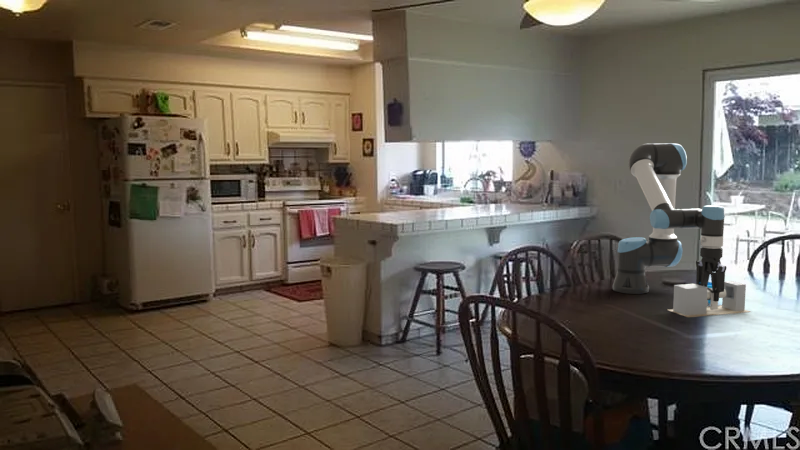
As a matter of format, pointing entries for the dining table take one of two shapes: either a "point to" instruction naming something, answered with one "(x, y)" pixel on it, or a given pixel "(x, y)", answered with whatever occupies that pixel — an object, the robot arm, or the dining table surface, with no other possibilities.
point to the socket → (734, 296)
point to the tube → (721, 294)
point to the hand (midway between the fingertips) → (708, 307)
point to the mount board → (714, 312)
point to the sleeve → (690, 299)
